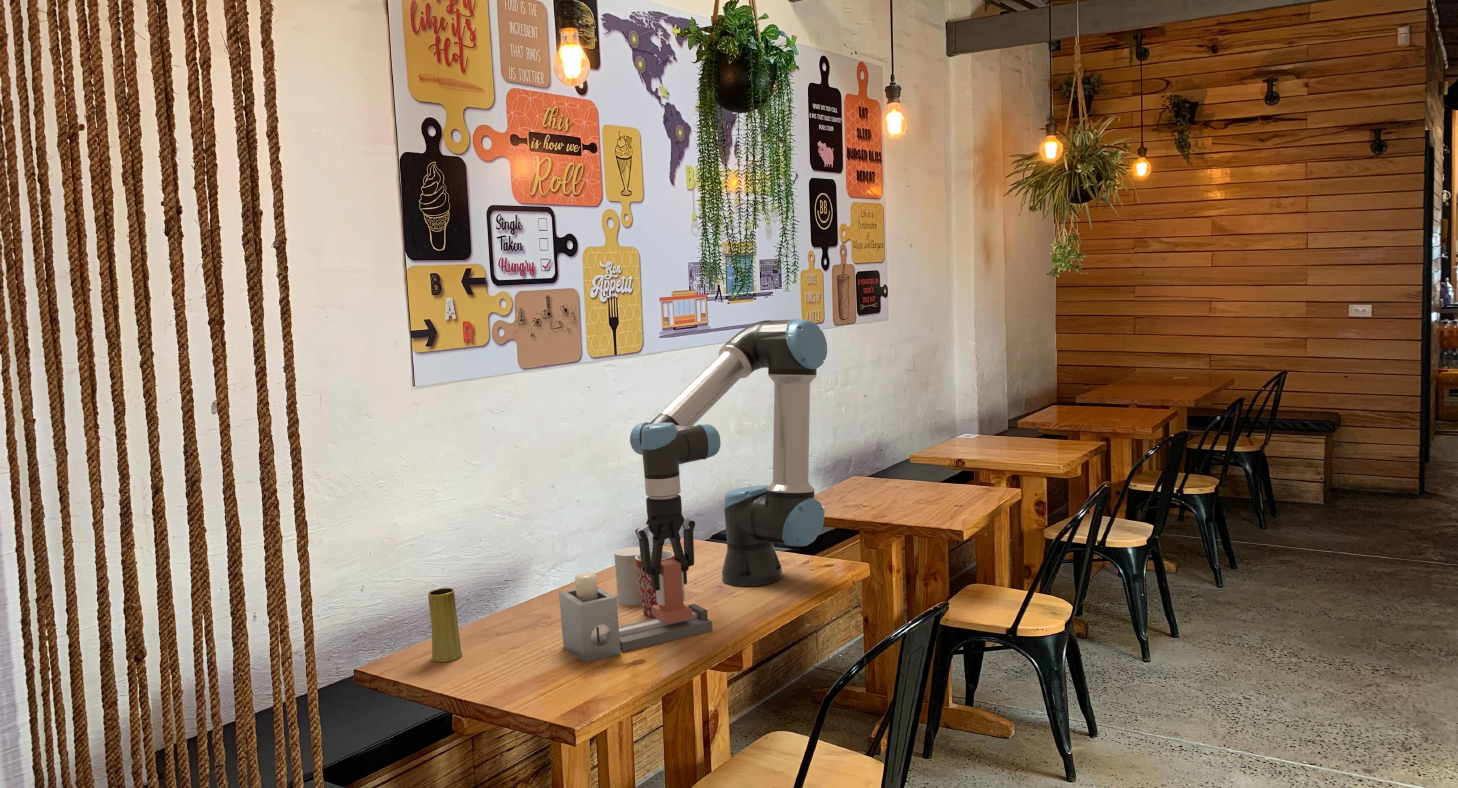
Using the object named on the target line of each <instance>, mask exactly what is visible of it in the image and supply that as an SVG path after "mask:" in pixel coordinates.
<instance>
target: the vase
mask: <svg viewBox="0 0 1458 788" xmlns="http://www.w3.org/2000/svg"><path fill="white" fill-rule="evenodd" d="M455 595H456V594H455V589H454V588H452V587H441V588H440V587H439V588H436V589H432V590H430V591H429V592H428V594H427V596H428V607H429V617H430V626H431V650H432V651H431V655H432V657H431V658H432V661H433V662H436V663H450V662H454V661H456V660H459V659H461V658H462V656H463V652H462V646H461V638H460V630H459V629H460V628H459V624H458V623H459V622H458V614H457V613H458V612H457V608H456V607H457V605H456V596H455Z"/></svg>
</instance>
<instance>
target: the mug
mask: <svg viewBox="0 0 1458 788" xmlns="http://www.w3.org/2000/svg"><path fill="white" fill-rule="evenodd" d="M651 557H652V550H650V558H651ZM635 559H636V563H637V570H638V578H639V584H640V592H641V599H642V604H641V605H642V606H641V607H642V612H643V615H644V616H646V617H649V618H655V617H654V616H653V615H652V613H651V606H654V605H658V603H657V599H656V591H655V590H653V588H652V580H651V575H648V574H646V573H644V572H643V571H642V565H641V555H640V554H638V555H637V556H636V557H635ZM670 559H673V560H676V559H675V556H674V552H673V551H670V550H662V558H661V561H665V560H670Z"/></svg>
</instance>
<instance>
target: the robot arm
mask: <svg viewBox="0 0 1458 788" xmlns="http://www.w3.org/2000/svg"><path fill="white" fill-rule="evenodd" d="M827 355H828V343H827V338H826V336H825V334H824V332H823V330H822V329H821V327H820V326H819V325H818V324H817V323H815V322H814V321H812V320H808V319H799V318H795V319H778V320H777V319H775V320H774V319H773V320H769V319H767V320H759V321H757V322H755V323H751V324H750V325H748V326H747V327H745V328H743V329H742V330H740V331H739V332H738V333H736V334H735V335H734V336H733V337H731V338H730V339H729V340H728V341H727V342H726V343H725V344H724V345H722V346H721V347H720V348H719V351H718V356H717V357H716V358H715V359H714V360H713V361H712V362H711V363H710V364H709V365H708V366H707V367H706V368H705V369H704V370H703V371H702V372H701V373H700V374H699V375H698V376H697V377H696V378H695V379H694V380H693V381H692V382H690V384H689V385H687V386H686V387H685V388H684V390H682V391H681V392H680V393H679V394H678V395H677V397H675V398H674V399H673V400H672V401H671V402H670V403H669V404H668V405H667V406H666V407H665V408H664V409H663V410H661V412H660V413H659V414H658V415H657V416H655V417H654V418H653V419H652V420H651V421H650V422H647V421H646V422H640V423H638V424H636V425H634V427H633V428H632V430H631V432H630V434H629V443H630V447H631V448H632V450H633V452H634V453H635V454H637V455H641V456H642V462H643V475H644V488H645V491H644V492H645V495H646V496H647V497H646V499H645V504H646V514H647V520H646V523H645V525H644V526H643V527H641V528H638V527H637V528H636V529H635V535H636V536H637V539H638V543H639V544H638V545H639V546H638V547H640V555H641V565H642V571H643V572H644V573H646V574H648V575H651V580H652V588H653V590H655V591H656V599H657V603H658V604H660V605H662V606H664V605H665V593H664V579H663V575H661V574H660V567H661V558H662V550H663V548H664V544H665V543H666V542H665V540H667V539H669V541H670V545H671V548H672V552H673V553H674V556H675V559H676V561H678V562H680V563H681V575H682V589H683V602H685V601H686V593H685V585H687V584H688V576H687V574H688V571H689V568H690V567H693V566H694V565H695V547H694V546H695V545H694V543H695V541H694V540H695V539H694V531H695V526H696V522H695V520H692V519H688V518H687V519H685V518H684V516H683V514H682V513H683V512H682V510H683V505H682V496H681V495H680V493H681V491H682V490H681V480H680V479H681V478H680V465H683V464H686V463H687V464H688V463H691V462H696V461H697V462H698V461H701V460H706V459H709V458H712V457H714V456H715V455H717V454H718V452H719V451H720V449H721V446H722V445H721V444H722V443H721V436H720V433H719V431H718V430H717V429H716V427H715V426H713V425H711V424H708V423H707V424H701V423H700V424H697V422H698V421H699V420H700V419H701V418H702V417H704V415H705V414H707V412H708V411H709V410H711V408H713V406H714V405H715V404H716V403H717V402H718V401H719V400H720V399H722V398H723V396H724V395H726V393H727V392H729V390H730V389H732V388H733V386H734V385H735V384H737V382H738V381H739V380H740V379H747V378H748V377H749V376H750V375H751V374H752V373H753V372H754V371H755V372H756V371H757V370H761V369H765V368H767V370H768V371H767V373H768V375H767V376H768V377H769V378H770V379H771V380H772V381H773V383H774V385H773V386H774V387H773V391H774V392H773V393H774V394H773V446H772V447H773V451H772V455H773V456H772V482H771V483H769V485H767V484H764V485H762V484H759V485H751V486H744V487H740V488H735V489H732V490H730V491H728V492H726V494H725V495H724V507H723V510H724V521H725V522H724V523H725V532H726V533H725V535H726V547H727V548H726V549H727V550H726V552H725V553H726V555H725V557H724V561H723V565H722V569H721V578H722V579H721V580H722V581H723V583H725V584H727V585H731V586H737V587H753V586H754V587H756V586H764V585H770V584H773V583H776V582H778V581H780V580H781V579H782V578H783V570H782V569H783V568H782V565H781V563H780V560H779V557H778V554H777V552H776V550H775V546H774V545H775V544H774V543H777V544H780V545H781V544H782V545H786V546H789V547H793V546H794V547H805V546H809V545H810V544H812V543H813V542H814V541H815V540H817V537H818V536H819V535H820V534H821V531H822V530H823V526H824V522H825V509H824V507H823V505H822V504H821V502H820V501H819V500H817V499H816V498H815V488H814V487H813V486H812V485H811V484H810V482H809V469H810V465H809V463H810V462H809V461H810V459H809V457H810V410H811V409H810V406H811V402H810V400H811V398H810V397H811V382H812V381H814V379H815V378H817V370H818V368H820V367H822V366H823V364H824V363H825V360H826V359H827ZM696 424H697V425H696ZM681 528H683V531H682V533H683V534H682V535H683V546H682V542H681V539H682V538H681V536H680V530H681ZM649 532H650V533H651V534H652V539H651V540H652V548H651V549H652V550H651V549H650V541H649V538H648V537H649V535H650V533H649ZM650 551H652V557H651V558H650Z"/></svg>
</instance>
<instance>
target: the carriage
mask: <svg viewBox="0 0 1458 788" xmlns="http://www.w3.org/2000/svg"><path fill="white" fill-rule="evenodd" d="M660 574H661V575H663V579H664V593H665V605H664V606H662V605H660V604H658V605H654V606H651V613H652V615H653V616H654V617H653V618H658V619H660V620H661V621H663V622H665V623H667V624H670V623H675V622H679V621H683V620H687V619H692V618H693V614H692V609H691V608H689V606H687V605H685V604H684V601H683V589H682V575H681V563H680V562H678V561H676V560H673V559H670V560H665V561H661V567H660Z"/></svg>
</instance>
